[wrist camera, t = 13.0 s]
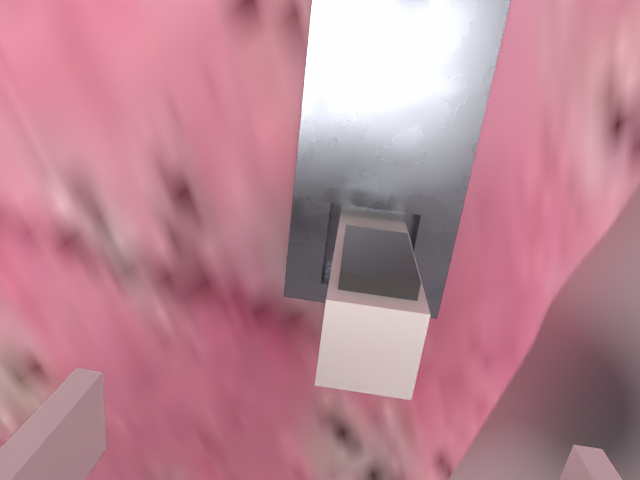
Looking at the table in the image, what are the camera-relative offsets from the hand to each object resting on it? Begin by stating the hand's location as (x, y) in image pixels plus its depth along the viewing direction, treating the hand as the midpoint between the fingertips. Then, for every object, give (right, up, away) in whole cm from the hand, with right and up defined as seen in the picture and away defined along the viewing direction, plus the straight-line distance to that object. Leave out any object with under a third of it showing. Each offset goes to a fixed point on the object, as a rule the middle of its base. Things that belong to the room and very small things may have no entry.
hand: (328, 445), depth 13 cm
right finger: (+3, +6, +18) cm, 19 cm away
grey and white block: (+4, +14, +15) cm, 21 cm away
